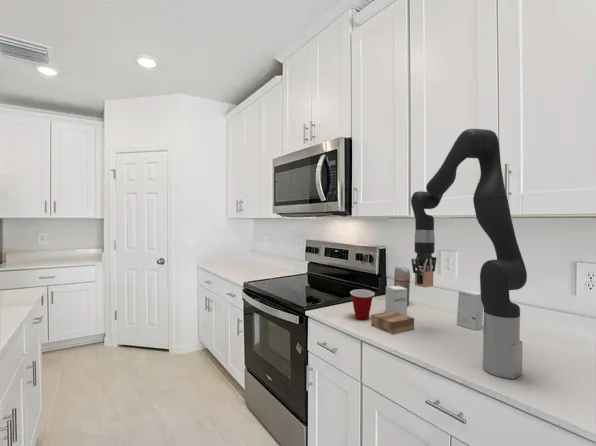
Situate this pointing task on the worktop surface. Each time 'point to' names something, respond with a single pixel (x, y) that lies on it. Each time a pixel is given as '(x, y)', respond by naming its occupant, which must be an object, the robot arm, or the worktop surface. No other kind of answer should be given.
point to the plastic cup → (362, 303)
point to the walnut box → (392, 322)
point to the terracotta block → (425, 279)
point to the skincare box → (470, 309)
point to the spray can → (402, 279)
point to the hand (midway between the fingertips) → (424, 283)
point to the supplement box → (396, 299)
